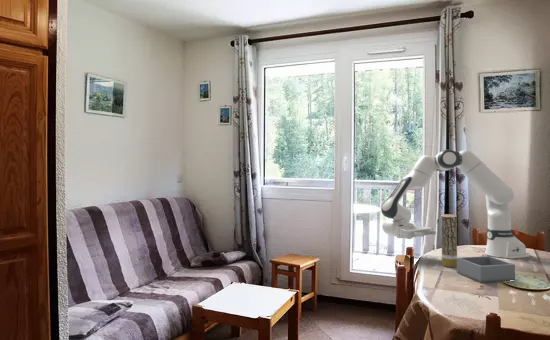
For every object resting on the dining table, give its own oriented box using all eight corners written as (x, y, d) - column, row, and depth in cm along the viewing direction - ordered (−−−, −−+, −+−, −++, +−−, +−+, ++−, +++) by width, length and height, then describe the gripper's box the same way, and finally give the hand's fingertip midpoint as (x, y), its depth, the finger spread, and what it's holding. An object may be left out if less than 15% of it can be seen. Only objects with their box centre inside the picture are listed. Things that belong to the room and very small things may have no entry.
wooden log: (458, 268, 184) (458, 216, 184) (443, 267, 185) (443, 215, 185) (455, 264, 191) (454, 214, 190) (440, 264, 192) (440, 214, 192)
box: (488, 271, 178) (488, 256, 178) (515, 281, 162) (514, 264, 162) (457, 272, 176) (456, 257, 175) (480, 283, 160) (480, 266, 160)
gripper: (420, 234, 215) (442, 238, 203) (394, 238, 205) (415, 242, 193) (420, 223, 215) (441, 226, 203) (394, 226, 205) (415, 229, 193)
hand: (429, 234), depth 198 cm, fingers open, 8 cm apart
